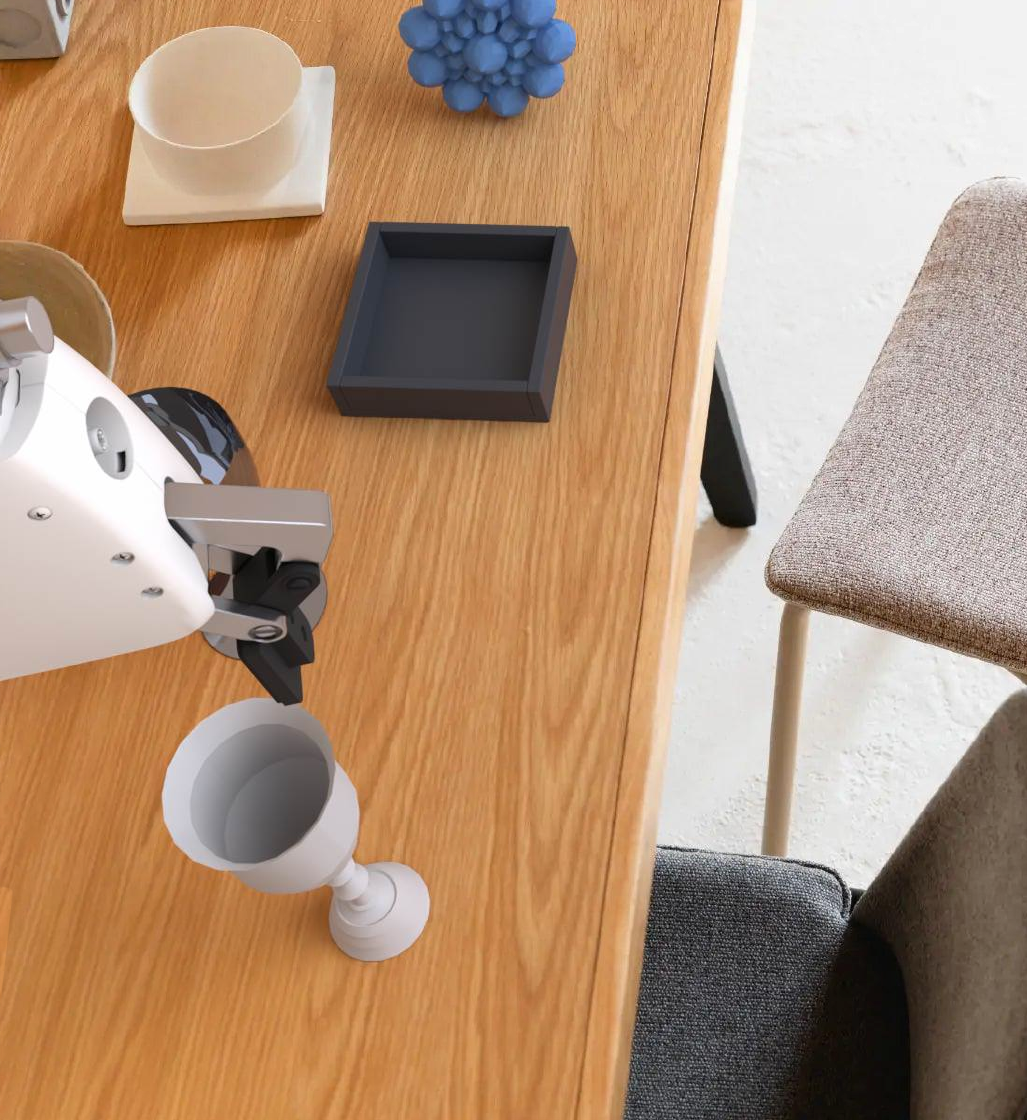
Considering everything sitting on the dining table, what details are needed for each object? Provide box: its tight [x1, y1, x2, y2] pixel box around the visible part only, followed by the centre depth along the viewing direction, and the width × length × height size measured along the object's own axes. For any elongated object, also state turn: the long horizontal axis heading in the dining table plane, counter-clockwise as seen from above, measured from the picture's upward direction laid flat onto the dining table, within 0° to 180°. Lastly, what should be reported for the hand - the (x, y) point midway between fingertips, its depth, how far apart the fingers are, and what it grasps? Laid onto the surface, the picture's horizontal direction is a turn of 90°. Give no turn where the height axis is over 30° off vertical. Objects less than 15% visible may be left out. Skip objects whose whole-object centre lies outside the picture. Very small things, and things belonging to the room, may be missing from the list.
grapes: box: [397, 0, 577, 119], centre depth 97 cm, size 12×7×12 cm, turn 87°
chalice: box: [161, 697, 431, 962], centre depth 67 cm, size 7×7×18 cm
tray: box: [325, 221, 579, 423], centre depth 91 cm, size 13×13×3 cm
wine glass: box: [126, 386, 328, 661], centre depth 77 cm, size 8×8×15 cm
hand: (139, 698), depth 48 cm, fingers open, 9 cm apart
